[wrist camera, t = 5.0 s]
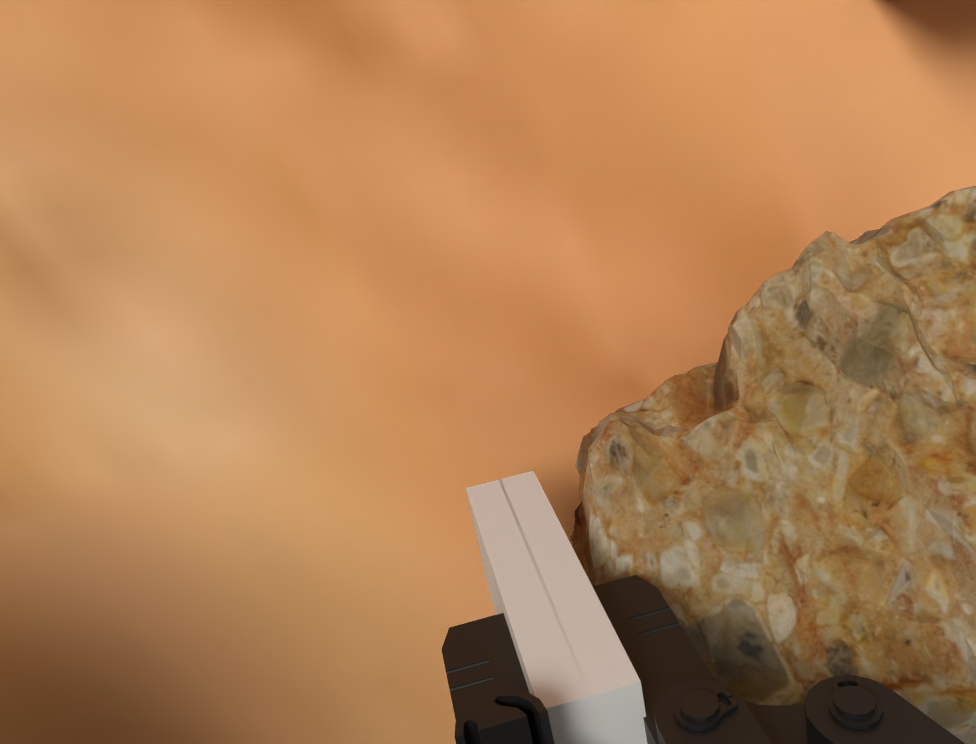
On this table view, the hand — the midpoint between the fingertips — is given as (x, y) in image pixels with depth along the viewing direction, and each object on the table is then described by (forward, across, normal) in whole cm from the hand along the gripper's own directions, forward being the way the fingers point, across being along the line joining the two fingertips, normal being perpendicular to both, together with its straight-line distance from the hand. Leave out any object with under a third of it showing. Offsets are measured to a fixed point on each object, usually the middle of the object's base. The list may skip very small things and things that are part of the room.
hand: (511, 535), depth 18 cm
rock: (+3, +6, 0) cm, 7 cm away
